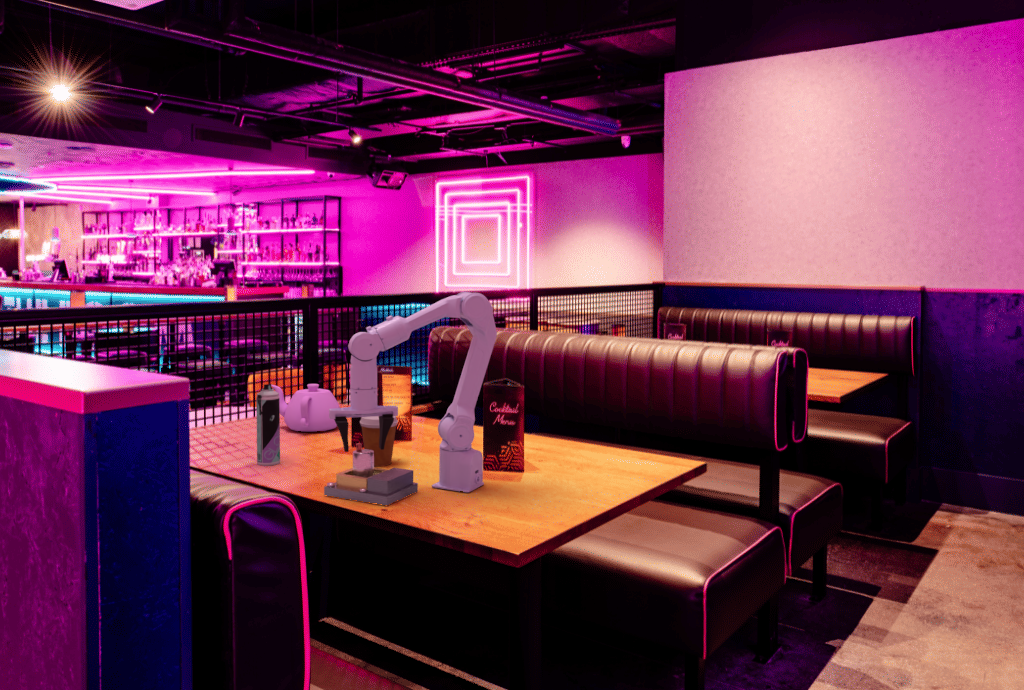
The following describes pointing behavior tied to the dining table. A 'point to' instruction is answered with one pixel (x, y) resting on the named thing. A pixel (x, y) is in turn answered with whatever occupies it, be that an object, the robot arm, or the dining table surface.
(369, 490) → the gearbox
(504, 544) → the dining table surface
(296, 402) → the teapot
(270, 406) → the spray can
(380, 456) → the disposable coffee cup
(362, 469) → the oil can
